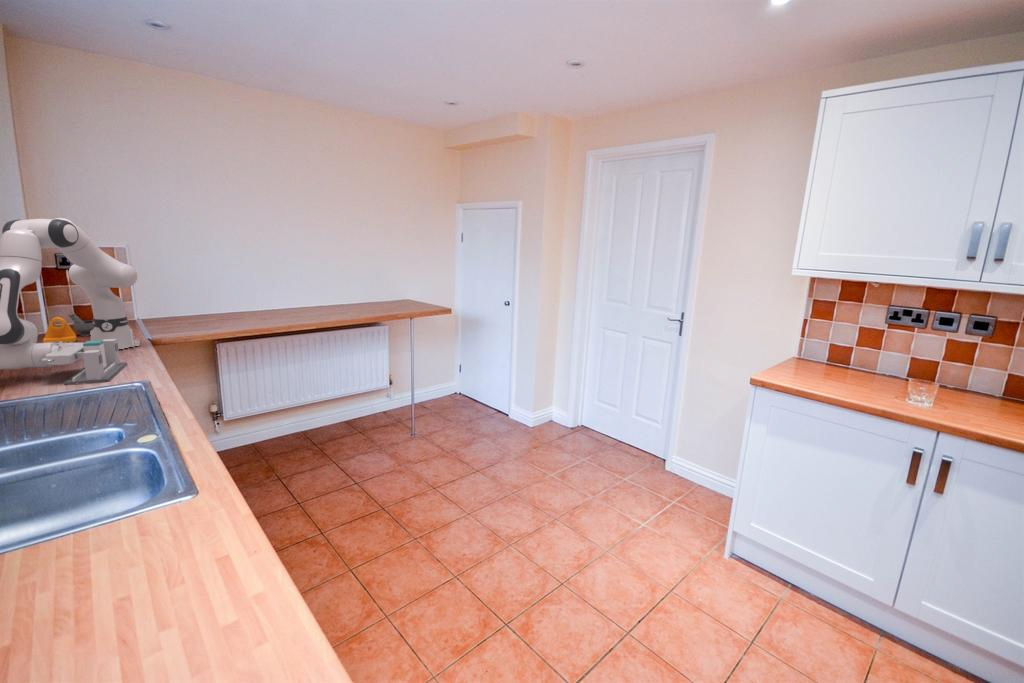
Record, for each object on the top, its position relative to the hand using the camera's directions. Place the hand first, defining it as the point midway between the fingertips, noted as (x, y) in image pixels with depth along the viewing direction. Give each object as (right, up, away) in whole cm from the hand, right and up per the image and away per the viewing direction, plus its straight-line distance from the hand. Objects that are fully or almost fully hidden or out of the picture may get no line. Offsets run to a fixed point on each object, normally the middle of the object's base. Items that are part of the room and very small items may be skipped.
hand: (97, 352), depth 174 cm
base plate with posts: (-1, -8, +1) cm, 9 cm away
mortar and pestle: (-61, +7, +61) cm, 86 cm away
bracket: (-57, +3, +44) cm, 73 cm away
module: (-1, -6, +1) cm, 6 cm away
